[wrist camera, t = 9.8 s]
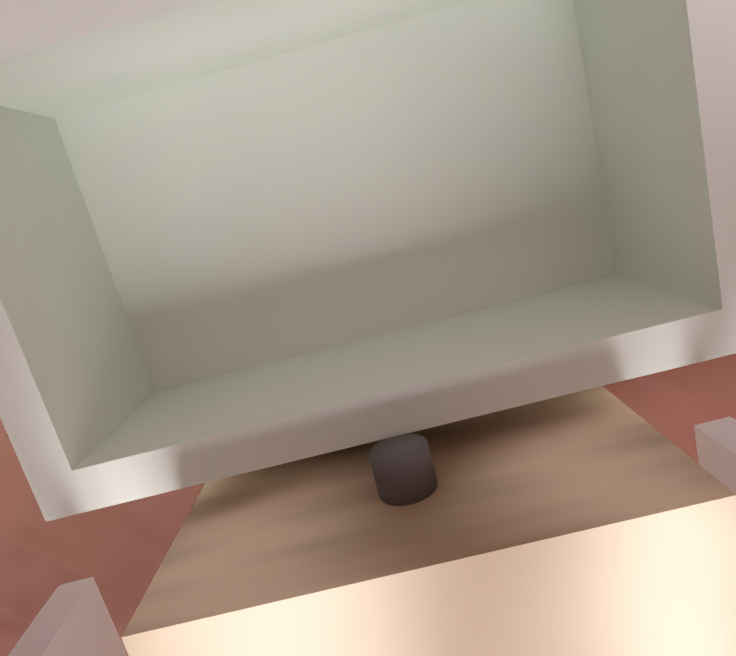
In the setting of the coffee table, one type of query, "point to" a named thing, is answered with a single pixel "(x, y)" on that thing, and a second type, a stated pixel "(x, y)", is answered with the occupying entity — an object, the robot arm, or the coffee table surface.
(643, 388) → the coffee table surface
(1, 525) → the coffee table surface
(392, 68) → the box
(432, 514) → the knobbed wooden block
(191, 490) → the coffee table surface
